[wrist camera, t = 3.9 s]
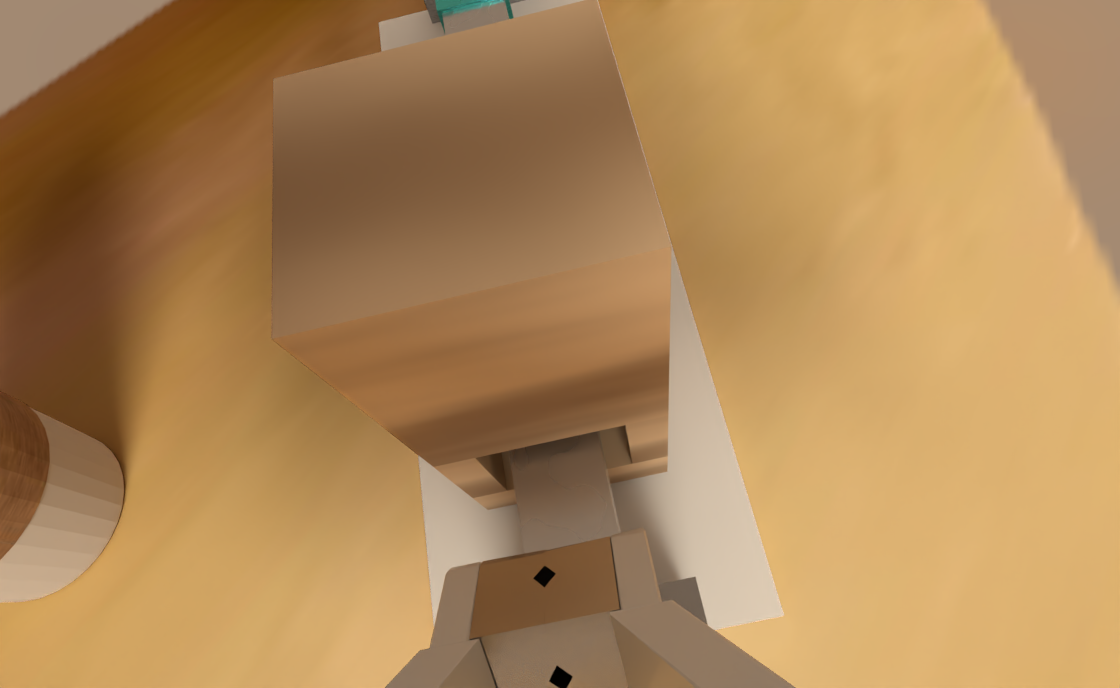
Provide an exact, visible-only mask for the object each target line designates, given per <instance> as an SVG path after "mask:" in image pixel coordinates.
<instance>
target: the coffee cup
mask: <svg viewBox="0 0 1120 688" xmlns="http://www.w3.org/2000/svg"><path fill="white" fill-rule="evenodd" d="M123 497H124V481H123V474H122V471H121V468H120V465H119V462H118V461H117V459H116V458H115V456H114V454H113V453H112V451H111V450H110V449H108V448H107V447H106V446H105V445H104V444H103V443H101V442H100V441H98V440H96V439H94V438H92V437H90V436H88V435H86V434H84V433H82V432H80V431H78V430H76V429H74V428H72V427H70V426H68V425H66V424H64V423H62V422H59V421H57V420H55V419H53V418H51V417H49V416H47V415H45V414H43V413H41V412H39V411H36V410H34V409H32V408H30V407H29V406H28V405H27V404H25V403H23V402H21V401H19V400H17V399H15V398H13V397H11V396H9V395H7V394H5V393H3V392H2V391H0V602H24V601H29V600H34V599H39V598H42V597H45V596H47V595H49V594H52V593H54V592H57V591H59V590H60V589H62V588H63V587H65V586H66V585H68V584H70V583H71V582H73V581H74V580H75V579H76V578H78V577H79V576H80V575H81V574H82V573H83V572H85V571H86V570H87V569H88V568H89V567H90V565H91V564H92V563H93V562H94V561H95V560H96V559H97V558H98V556H99V555H100V554H101V552H102V551H103V549H104V548H105V546H106V545H107V543H108V542H109V540H110V538H111V536H112V534H113V532H114V530H115V528H116V525H117V523H118V520H119V517H120V513H121V510H122V506H123Z"/></svg>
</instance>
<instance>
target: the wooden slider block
mask: <svg viewBox="0 0 1120 688" xmlns="http://www.w3.org/2000/svg"><path fill="white" fill-rule="evenodd" d="M670 300H671V243H670V240H669V237H668V233H667V230H666V227H665V223H664V220H663V217H662V213H661V210H660V207H659V204H658V200H657V197H656V194H655V190H654V187H653V184H652V180H651V177H650V174H649V170H648V167H647V164H646V161H645V157H644V154H643V151H642V147H641V144H640V141H639V137H638V134H637V131H636V127H635V124H634V121H633V118H632V114H631V111H630V108H629V104H628V101H627V98H626V94H625V91H624V88H623V84H622V81H621V78H620V75H619V71H618V68H617V65H616V61H615V58H614V55H613V51H612V48H611V45H610V41H609V38H608V35H607V32H606V28H605V25H604V22H603V18H602V15H601V12H600V8H599V5H598V2H597V0H584V1H580V2H576V3H572V4H568V5H564V6H560V7H556V8H552V9H548V10H544V11H540V12H536V13H532V14H528V15H524V16H520V17H516V18H512V19H508V20H504V21H500V22H496V23H493V24H489V25H485V26H481V27H477V28H473V29H469V30H465V31H461V32H457V33H453V34H449V35H445V36H441V37H437V38H433V39H429V40H425V41H421V42H417V43H413V44H409V45H405V46H401V47H397V48H393V49H389V50H385V51H381V52H378V53H374V54H370V55H366V56H362V57H358V58H354V59H350V60H346V61H342V62H338V63H334V64H330V65H326V66H322V67H318V68H314V69H310V70H306V71H302V72H298V73H294V74H290V75H286V76H282V77H278V78H274V79H273V207H272V340H273V341H275V342H276V343H277V344H278V345H280V346H281V347H282V348H284V349H285V350H286V351H287V352H289V353H290V354H291V355H292V356H294V357H295V358H296V359H297V360H299V361H300V362H301V363H302V364H304V365H305V366H306V367H308V368H309V369H310V370H311V371H313V372H314V373H315V374H316V375H318V376H319V377H320V378H321V379H323V380H324V381H325V382H326V383H328V384H329V385H330V386H332V387H333V388H334V389H335V390H337V391H338V392H339V393H340V394H342V395H343V396H344V397H345V398H347V399H348V400H349V401H351V402H352V403H353V404H354V405H356V406H357V407H358V408H359V409H361V410H362V411H363V412H364V413H366V414H367V415H368V416H369V417H371V418H372V419H373V420H375V421H376V422H377V423H378V424H380V425H381V426H382V427H383V428H385V429H386V430H387V431H388V432H390V433H391V434H392V435H393V436H395V437H396V438H397V439H399V440H400V441H401V442H402V443H404V444H405V445H406V446H407V447H409V448H410V449H411V450H412V451H414V452H415V453H416V454H418V455H419V456H420V457H421V458H423V459H424V460H425V461H426V462H428V463H429V464H430V465H431V466H433V467H434V468H435V469H436V470H438V471H439V472H440V473H442V474H443V475H444V476H445V477H447V478H448V479H449V480H450V481H452V482H453V483H454V484H455V485H457V486H458V487H459V488H460V489H462V490H463V491H464V492H466V493H467V494H468V495H469V496H471V497H472V498H473V499H474V500H476V501H477V502H478V503H479V504H481V505H482V506H483V507H484V508H486V509H487V510H491V509H496V508H500V507H505V506H510V505H514V504H517V502H516V495H515V489H514V482H513V476H512V469H511V463H510V456H509V450H513V449H518V448H523V447H527V446H532V445H536V444H541V443H546V442H550V441H555V440H559V439H564V438H568V437H573V436H578V435H582V434H587V433H591V432H596V431H599V433H600V438H601V442H602V447H603V451H604V456H605V461H606V465H607V470H608V475H609V479H610V484H612V483H617V482H621V481H626V480H631V479H635V478H640V477H645V476H649V475H654V474H659V473H663V472H667V467H668V411H669V356H670Z"/></svg>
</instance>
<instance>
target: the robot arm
mask: <svg viewBox="0 0 1120 688" xmlns="http://www.w3.org/2000/svg"><path fill="white" fill-rule="evenodd" d="M385 688H795V687H794V686H792V685H791V684H790V683H788V682H787V681H785V680H784V679H783V678H781V677H780V676H778V675H777V674H776V673H774V672H773V671H771V670H770V669H769V668H767V667H766V666H764V665H763V664H761V663H760V662H759V661H757V660H756V659H754V658H753V657H752V656H750V655H749V654H747V653H746V652H745V651H743V650H742V649H740V648H739V647H738V646H736V645H735V644H733V643H732V642H730V641H729V640H728V639H726V638H725V637H723V636H722V635H721V634H719V633H718V632H716V631H715V630H714V629H712V628H711V627H709V626H708V625H707V624H705V623H704V622H702V621H701V620H699V619H698V618H697V617H695V616H694V615H692V614H691V613H690V612H688V611H687V610H685V609H684V608H683V607H681V606H680V605H678V604H677V603H675V602H674V601H673V600H669V601H663V602H662V600H661V596H660V592H659V587H658V583H657V579H656V574H655V570H654V566H653V561H652V557H651V552H650V548H649V544H648V539H647V535H646V531H645V530H644V528H643V527H642V528H638V529H634V530H630V531H626V532H622V533H618V534H613V535H611V537H610V536H609V537H604V538H600V539H595V540H591V541H586V542H582V543H577V544H573V545H568V546H563V547H559V548H554V549H550V550H547V549H546V550H541V551H535V552H530V553H525V554H519V555H514V556H508V557H503V558H498V559H492V560H487V561H483V562H477V563H472V564H467V565H462V566H457V567H452V568H450V569H449V570H448V572H447V573H446V575H445V579H444V584H443V589H442V593H441V598H440V602H439V607H438V611H437V616H436V621H435V625H434V630H433V634H432V639H431V643H430V648H429V649H425V650H420V651H419V652H418V653H417V654H416V655H415V656H414V657H413V658H412V659H411V660H410V661H409V662H408V664H407V665H406V666H405V667H404V668H403V669H402V670H401V671H400V672H399V673H398V674H397V675H396V676H395V677H394V678H393V680H392V681H391V682H390V683H389V684H388V685H387V686H386V687H385Z"/></svg>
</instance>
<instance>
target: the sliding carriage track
mask: <svg viewBox="0 0 1120 688" xmlns="http://www.w3.org/2000/svg"><path fill="white" fill-rule="evenodd" d="M520 1H524V0H424V2H425V5H426V7H427V10H428V13H429V16H430V18H431V21H432V24H434V23H437V22H441V24H442V27H443V30H444V33H445V35H449V34H453V33H457V32H461V31H465V30H469V29H473V28H477V27H481V26H485V25H489V24H493V23H496V22H500V21H504V20H508V19H512V18H514V16H513V12H512V8H511V4H512V3H516V2H520ZM509 456H510V463H511V469H512V476H513V482H514V489H515V495H516V502H517V509H518V515H519V522H520V528H521V535H522V541H523V548H524V554H525V553H530V552H535V551H541V550H546V549H547V550H550V549H554V548H559V547H563V546H568V545H573V544H577V543H582V542H586V541H591V540H595V539H600V538H604V537H609V536H610V537H611V535H613V534H618V533H621V530H620V526H619V521H618V516H617V512H616V507H615V503H614V498H613V493H612V489H611V484H610V479H609V475H608V470H607V465H606V461H605V456H604V451H603V447H602V442H601V438H600V433H599V431H596V432H591V433H587V434H582V435H578V436H573V437H568V438H564V439H559V440H555V441H550V442H546V443H541V444H536V445H532V446H527V447H523V448H518V449H513V450H509ZM658 587H659V592H660V596H661V600H662V602H663V601H669V600H673V601H674V602H675V603H677V604H678V605H680V606H681V607H683V608H684V609H685V610H687V611H688V612H690V613H691V614H692V615H694V616H695V617H697V618H698V619H699V620H701V621H702V622H704V623H705V624H707V620H706V616H705V612H704V608H703V604H702V600H701V596H700V592H699V589H698V585H697V581H696V577H691V578H686V579H681V580H676V581H672V582H667V583H662V584H658ZM707 625H708V624H707Z"/></svg>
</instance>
